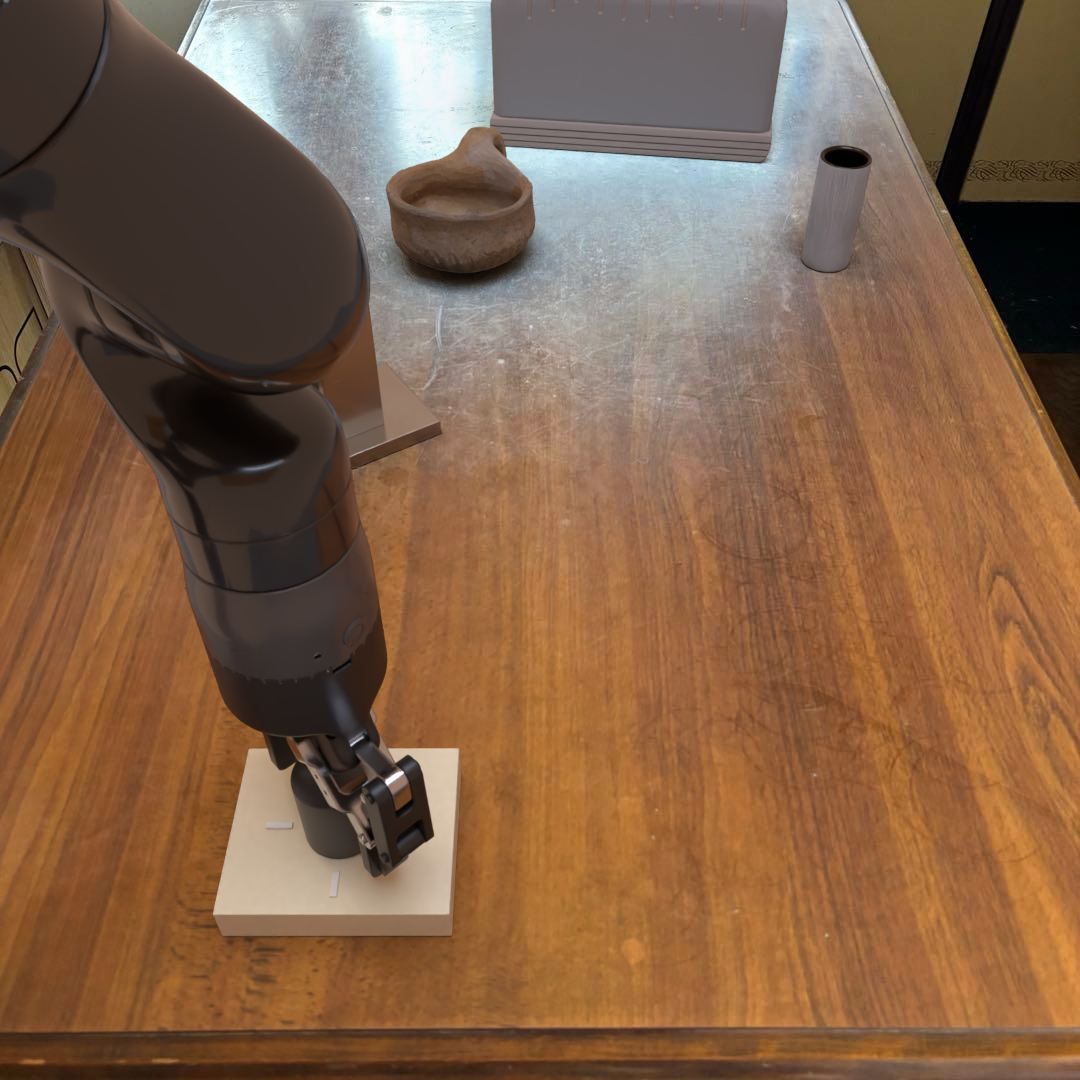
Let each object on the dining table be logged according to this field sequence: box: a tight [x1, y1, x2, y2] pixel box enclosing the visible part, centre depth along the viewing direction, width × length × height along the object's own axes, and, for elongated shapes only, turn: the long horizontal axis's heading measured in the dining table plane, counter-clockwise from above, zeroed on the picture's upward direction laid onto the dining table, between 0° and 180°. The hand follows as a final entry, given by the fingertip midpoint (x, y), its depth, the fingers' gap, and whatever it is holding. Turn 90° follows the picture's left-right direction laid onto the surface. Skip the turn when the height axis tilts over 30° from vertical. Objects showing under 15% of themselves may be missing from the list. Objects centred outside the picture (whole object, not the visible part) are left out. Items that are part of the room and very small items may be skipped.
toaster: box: [489, 0, 789, 163], centre depth 126 cm, size 30×36×18 cm
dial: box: [290, 760, 369, 859], centre depth 57 cm, size 4×4×5 cm
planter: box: [800, 144, 873, 273], centre depth 101 cm, size 4×4×10 cm
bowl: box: [385, 126, 536, 274], centre depth 103 cm, size 18×14×10 cm
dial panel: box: [212, 747, 462, 937], centre depth 60 cm, size 12×10×3 cm
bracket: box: [312, 305, 442, 470], centre depth 82 cm, size 12×9×13 cm
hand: (338, 808), depth 58 cm, fingers open, 8 cm apart
